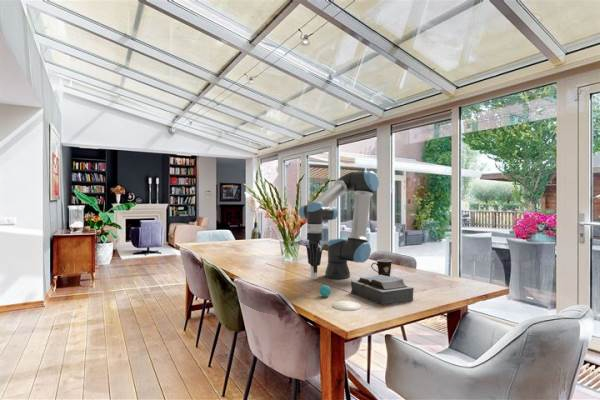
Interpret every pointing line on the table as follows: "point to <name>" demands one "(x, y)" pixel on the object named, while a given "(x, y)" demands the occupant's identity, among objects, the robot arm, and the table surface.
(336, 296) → the table surface
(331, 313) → the table surface
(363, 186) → the robot arm
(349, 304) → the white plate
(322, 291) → the ball
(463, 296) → the table surface
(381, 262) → the coffee mug
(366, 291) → the bible
